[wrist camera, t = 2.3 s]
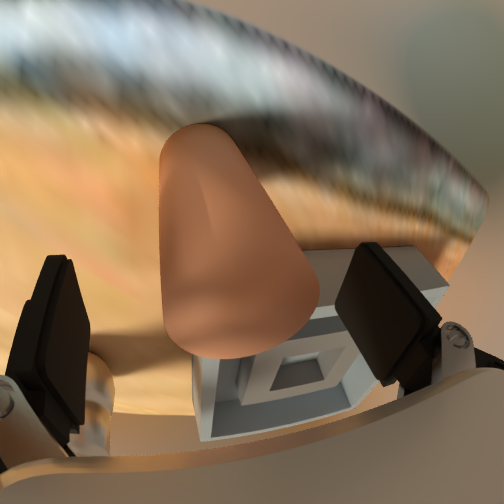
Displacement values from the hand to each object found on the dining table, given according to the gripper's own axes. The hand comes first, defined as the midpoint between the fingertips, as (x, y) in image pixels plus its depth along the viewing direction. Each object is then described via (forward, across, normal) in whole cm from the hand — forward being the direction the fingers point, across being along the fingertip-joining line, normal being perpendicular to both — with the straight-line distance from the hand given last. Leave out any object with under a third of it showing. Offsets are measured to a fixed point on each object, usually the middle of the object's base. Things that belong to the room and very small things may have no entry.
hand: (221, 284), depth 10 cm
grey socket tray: (+8, -9, +15) cm, 19 cm away
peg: (+8, 0, -1) cm, 8 cm away
